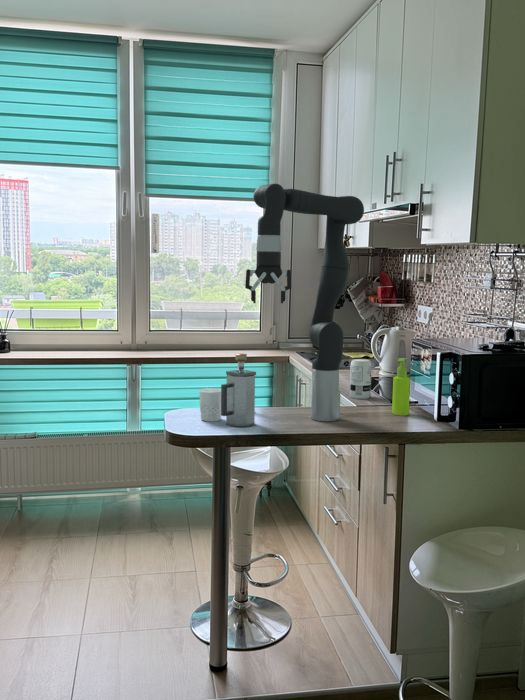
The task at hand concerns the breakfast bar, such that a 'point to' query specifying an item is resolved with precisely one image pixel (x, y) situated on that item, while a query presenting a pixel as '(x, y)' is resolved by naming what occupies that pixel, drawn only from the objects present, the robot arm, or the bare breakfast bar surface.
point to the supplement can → (360, 379)
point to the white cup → (210, 404)
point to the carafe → (239, 399)
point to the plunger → (241, 361)
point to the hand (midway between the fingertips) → (268, 303)
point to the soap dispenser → (401, 390)
